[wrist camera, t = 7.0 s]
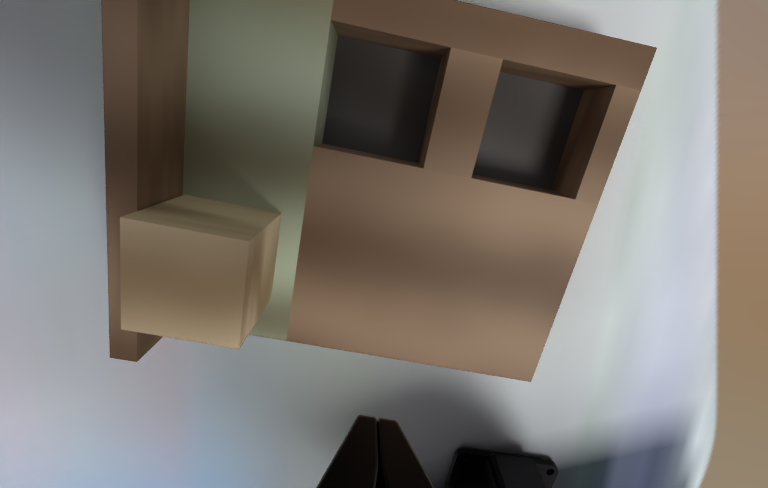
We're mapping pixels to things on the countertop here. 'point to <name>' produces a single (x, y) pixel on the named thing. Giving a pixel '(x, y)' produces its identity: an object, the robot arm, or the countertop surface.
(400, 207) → the trap box
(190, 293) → the maple block
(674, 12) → the countertop surface
